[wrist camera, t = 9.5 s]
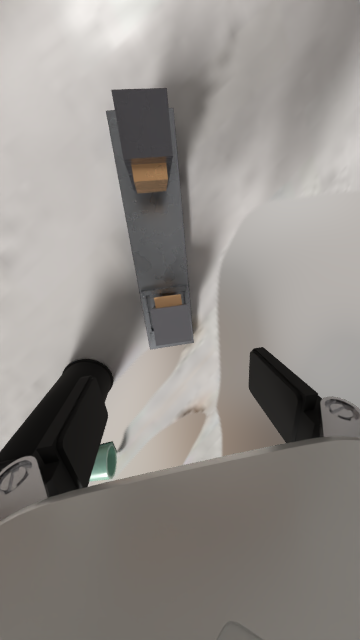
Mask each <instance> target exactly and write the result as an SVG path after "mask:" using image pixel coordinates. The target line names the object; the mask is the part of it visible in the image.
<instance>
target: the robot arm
mask: <svg viewBox="0 0 360 640" xmlns="http://www.w3.org/2000/svg"><path fill="white" fill-rule="evenodd" d="M249 390H250V392H251V393H252V395H253V396H254V398H255V399H256V400H257V402H258V403H259V405H260V406H261V408H262V409H263V411H264V412H265V413H266V415H267V416H268V417H269V419H270V420H271V422H272V423H273V425H274V426H275V428H276V429H277V430H278V432H279V433H280V435H281V436H282V437H283V439H284V440H285V442H286V443H285V444H280V445H275V446H270V447H266V448H261V449H257V450H251V451H247V452H242V453H238V454H232V455H228V456H223V457H219V458H214V459H209V460H205V461H200V462H196V463H191V464H186V465H182V466H178V467H173V468H169V469H164V470H160V471H155V472H150V473H146V474H142V475H137V476H132V477H129V478H124V479H120V480H115V481H110V482H106V483H102V484H98V485H94V486H90V487H88V484H89V480H90V477H91V473H92V470H93V467H94V463H95V460H96V456H97V453H98V450H99V446H100V443H101V439H102V436H103V432H104V429H105V426H106V422H107V419H108V412H107V409H106V406H105V403H104V400H103V397H102V394H101V391H100V388H99V385H98V382H97V379H96V378H93V377H92V376H86V377H81V378H80V379H79V380H78V382H77V383H76V385H75V387H74V388H73V390H72V391H71V393H70V395H69V396H68V398H67V399H66V401H65V403H64V404H63V406H62V408H61V409H60V411H59V412H58V414H57V416H56V417H55V419H54V420H53V422H52V424H51V425H50V427H49V428H48V430H47V432H46V433H45V435H44V436H43V438H42V440H41V441H40V443H39V445H38V446H37V448H36V449H35V451H34V453H33V454H32V456H26V457H22V458H20V459H17V460H16V461H14V462H12V463H11V464H9V465H8V466H7V467H5V468H4V469H3V470H2V471H1V472H0V640H360V409H359V408H358V407H357V406H355V405H354V404H353V403H351V402H349V401H347V400H344V399H341V398H338V397H324V398H323V399H322V398H321V397H319V396H318V393H317V392H316V391H314V390H313V389H312V388H311V387H310V386H308V385H307V384H306V383H305V382H304V381H302V380H301V379H300V378H299V377H298V376H297V375H295V374H294V373H293V372H292V371H291V370H290V369H288V368H287V367H286V366H285V365H284V364H282V363H281V362H280V361H279V360H278V359H276V358H275V357H274V356H273V355H272V354H271V353H269V352H268V351H267V350H266V349H265V348H263V347H261V348H255V349H253V350H252V351H251V352H250V366H249Z"/></svg>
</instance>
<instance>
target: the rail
mask: <svg viewBox="0 0 360 640" xmlns="http://www.w3.org/2000/svg"><path fill="white" fill-rule="evenodd" d="M112 96H113V102H114V107H115V110H110V111H106V114H107V120H108V125H109V130H110V136H111V141H112V146H113V152H114V157H115V163H116V168H117V173H118V179H119V184H120V190H121V195H122V200H123V206H124V211H125V217H126V222H127V227H128V233H129V238H130V244H131V249H132V254H133V260H134V265H135V270H136V276H137V281H138V287H139V292H140V297H141V303H142V308H143V314H144V319H145V324H146V330H147V335H148V341H149V346H150V349H156V348H162V347H169V346H176V345H182V344H189V343H194V340H193V329H192V317H191V306H190V294H189V283H188V271H187V260H186V248H185V237H184V225H183V213H182V202H181V190H180V179H179V167H178V156H177V144H176V133H175V121H174V110H173V108H168V98H167V88H154V89H122V90H112ZM178 294H181V300H182V304H188V310H189V318H190V326H191V334H192V341H186V342H179V343H173V344H166V345H159V346H156V342H155V335H154V329H153V322H152V316H151V309H152V308H153V307H155V301H154V298H155V297H163V296H171V295H178Z"/></svg>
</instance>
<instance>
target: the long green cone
mask: <svg viewBox="0 0 360 640" xmlns="http://www.w3.org/2000/svg"><path fill="white" fill-rule="evenodd" d="M116 451H117V450H116V448H115V446H114V443H113V441H111V442H107V443H103V444H100V446H99V450H98V453H97V456H96V460H95V463H94V467H93V470H92V473H91V477H90V480H89V481H98V480H106V479H112V478H113V476H114V474H115V470H116V463H117V456H116V453H117V452H116Z"/></svg>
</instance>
